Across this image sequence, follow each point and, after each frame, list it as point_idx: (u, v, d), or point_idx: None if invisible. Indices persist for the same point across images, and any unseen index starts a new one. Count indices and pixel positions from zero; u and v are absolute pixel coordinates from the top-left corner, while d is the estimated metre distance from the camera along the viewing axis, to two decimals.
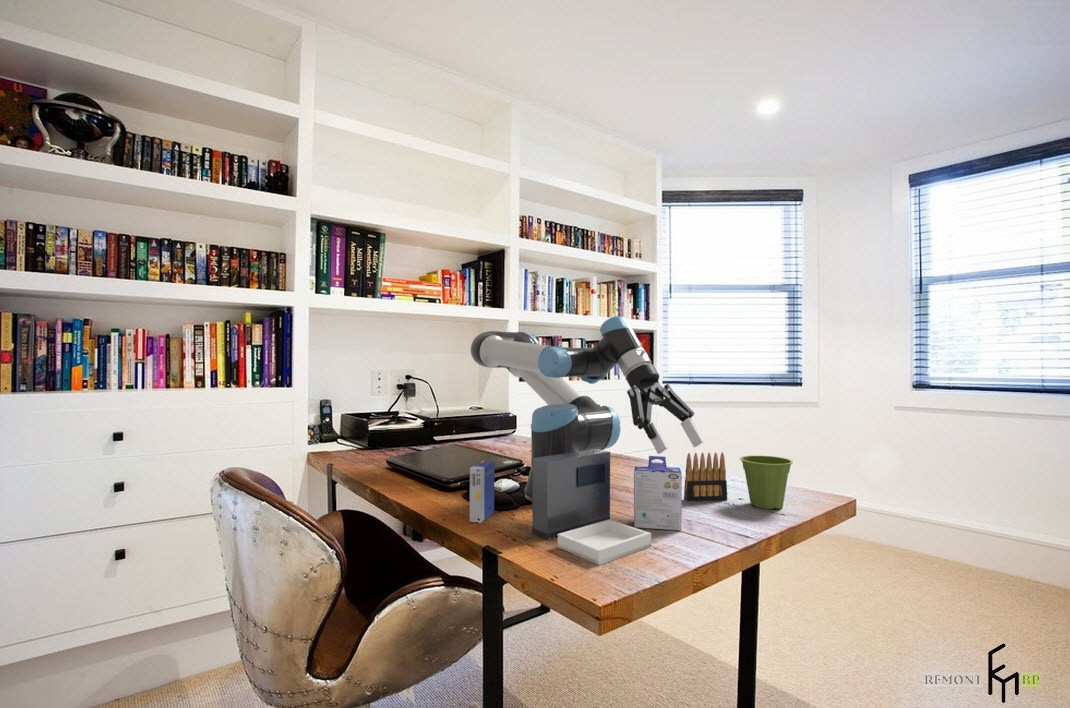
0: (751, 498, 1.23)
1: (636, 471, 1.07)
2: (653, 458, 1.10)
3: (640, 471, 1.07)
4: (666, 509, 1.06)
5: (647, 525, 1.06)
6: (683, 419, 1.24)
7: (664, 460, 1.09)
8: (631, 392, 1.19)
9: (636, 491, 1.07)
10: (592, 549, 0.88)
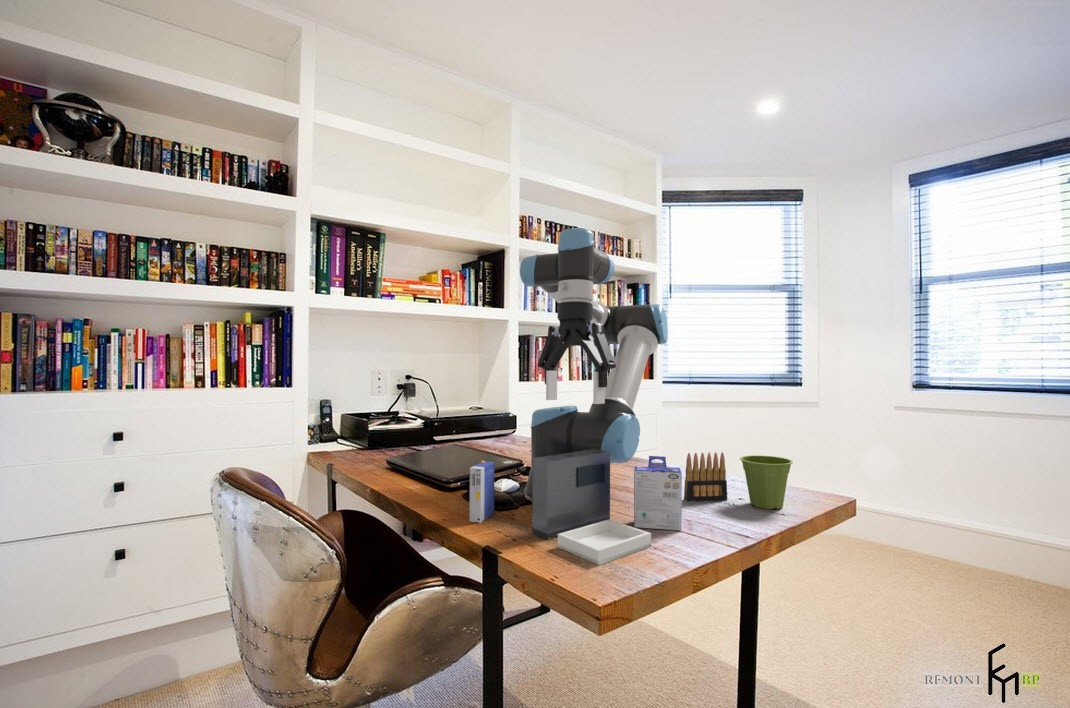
0: (751, 498, 1.23)
1: (636, 471, 1.07)
2: (653, 458, 1.10)
3: (640, 471, 1.07)
4: (666, 509, 1.06)
5: (647, 525, 1.06)
6: None
7: (664, 460, 1.09)
8: None
9: (636, 491, 1.07)
10: (592, 549, 0.88)
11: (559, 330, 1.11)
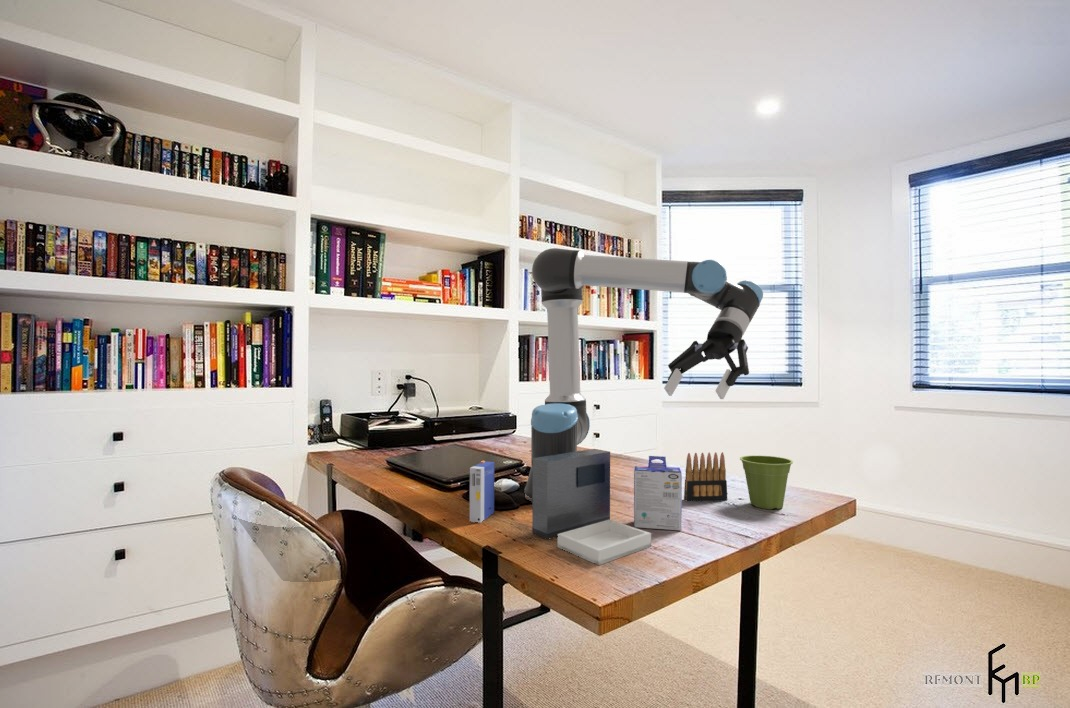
0: (751, 498, 1.23)
1: (636, 471, 1.07)
2: (653, 458, 1.10)
3: (640, 471, 1.07)
4: (666, 509, 1.06)
5: (647, 525, 1.06)
6: None
7: (664, 460, 1.09)
8: (745, 346, 1.18)
9: (636, 491, 1.07)
10: (592, 549, 0.88)
11: None
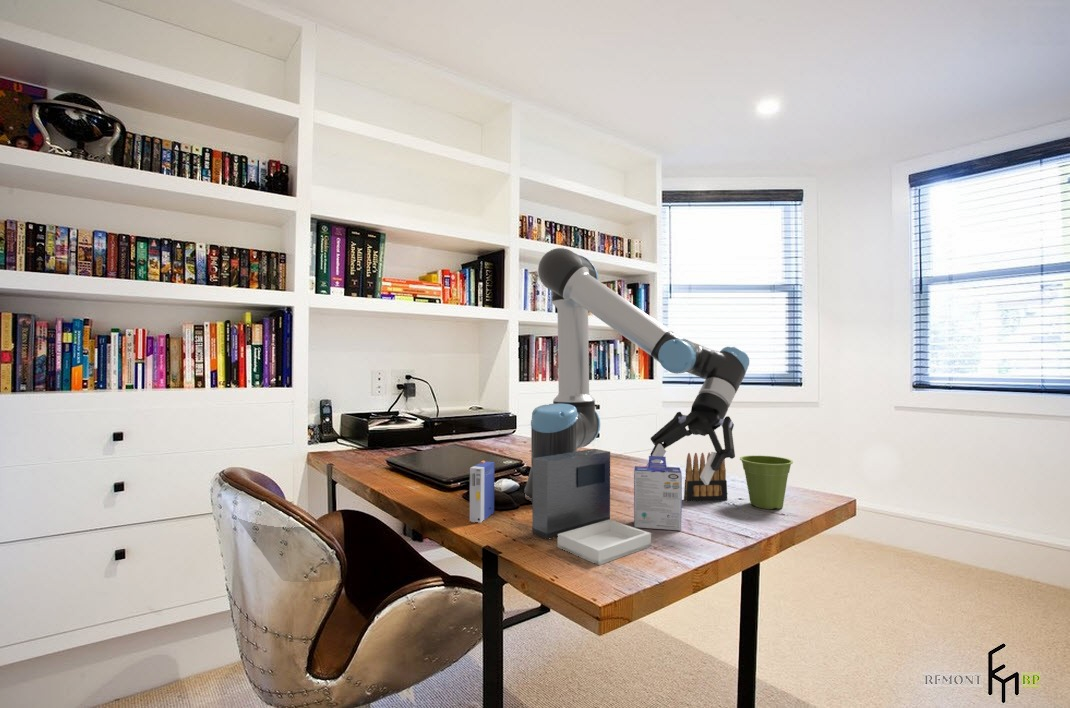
0: (751, 498, 1.23)
1: (636, 471, 1.07)
2: (653, 458, 1.10)
3: (640, 471, 1.07)
4: (666, 509, 1.06)
5: (647, 525, 1.06)
6: (661, 443, 1.19)
7: (664, 460, 1.09)
8: (731, 424, 1.12)
9: (636, 491, 1.07)
10: (592, 549, 0.88)
11: None
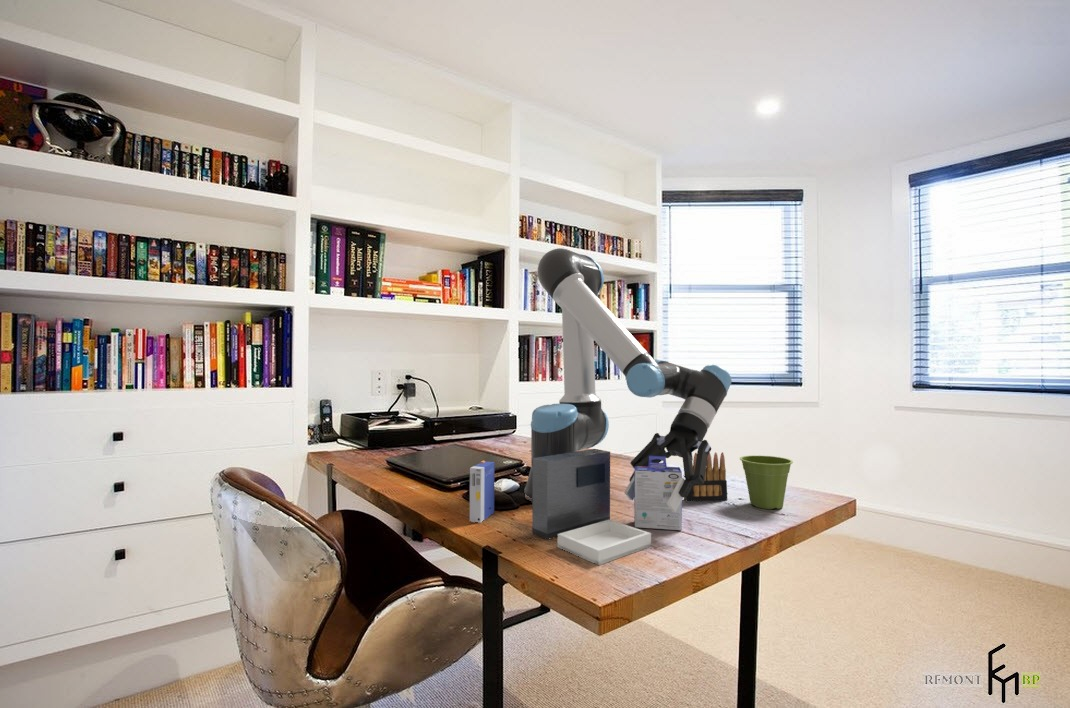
0: (751, 498, 1.23)
1: (636, 471, 1.07)
2: (653, 458, 1.10)
3: (640, 471, 1.07)
4: (667, 508, 1.05)
5: (647, 525, 1.06)
6: None
7: (664, 460, 1.09)
8: (707, 448, 1.08)
9: (636, 491, 1.07)
10: (592, 549, 0.88)
11: None
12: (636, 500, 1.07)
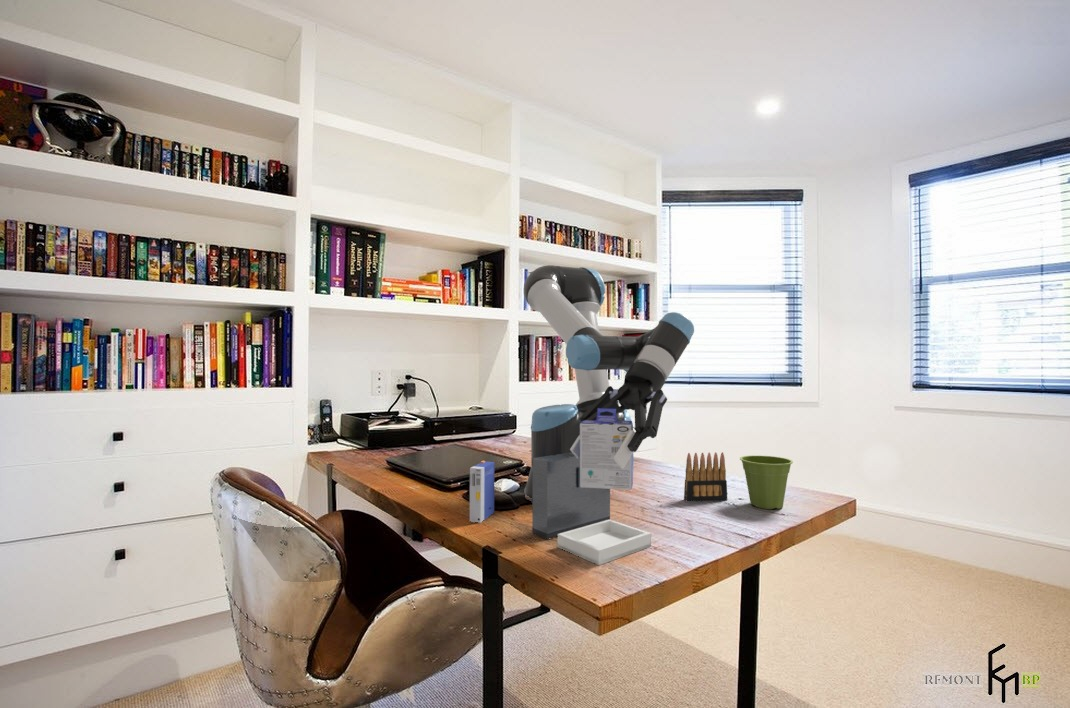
0: (751, 498, 1.23)
1: (582, 424, 0.95)
2: (602, 410, 0.97)
3: (586, 424, 0.94)
4: (615, 465, 0.93)
5: (594, 484, 0.94)
6: None
7: (614, 412, 0.97)
8: (662, 398, 0.96)
9: (582, 446, 0.94)
10: (592, 549, 0.88)
11: None
12: (581, 457, 0.94)
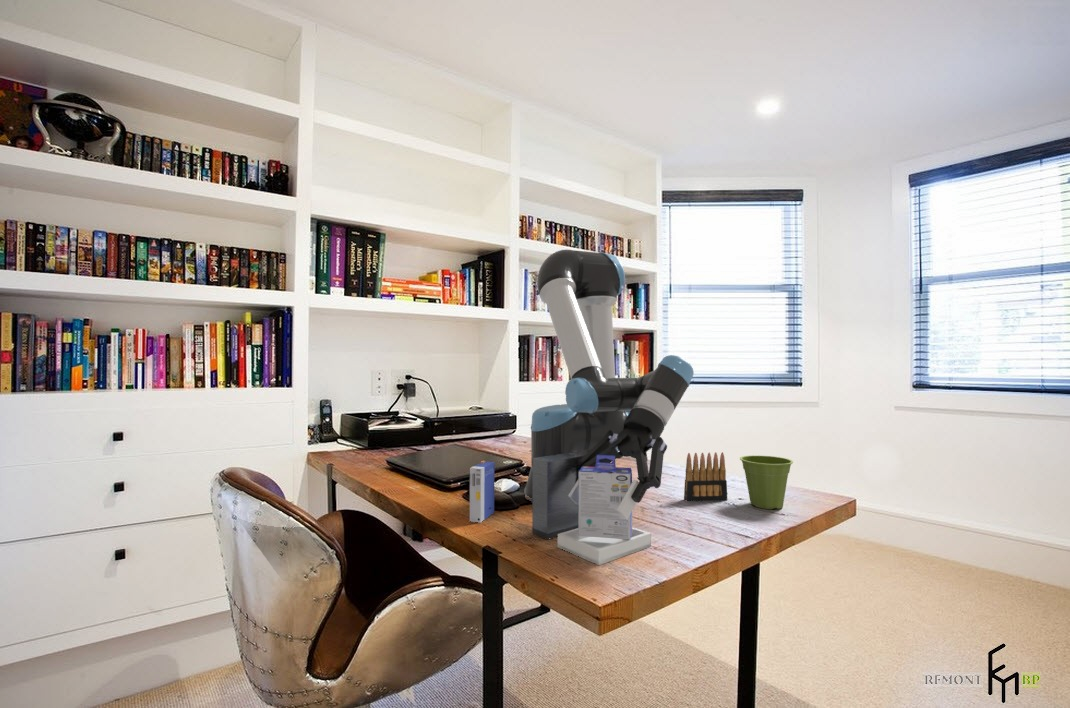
0: (751, 498, 1.23)
1: (580, 472, 0.94)
2: (601, 457, 0.97)
3: (585, 472, 0.94)
4: (614, 515, 0.93)
5: (592, 533, 0.93)
6: None
7: (613, 459, 0.97)
8: (662, 446, 0.96)
9: (581, 495, 0.94)
10: (592, 549, 0.88)
11: None
12: (580, 505, 0.94)
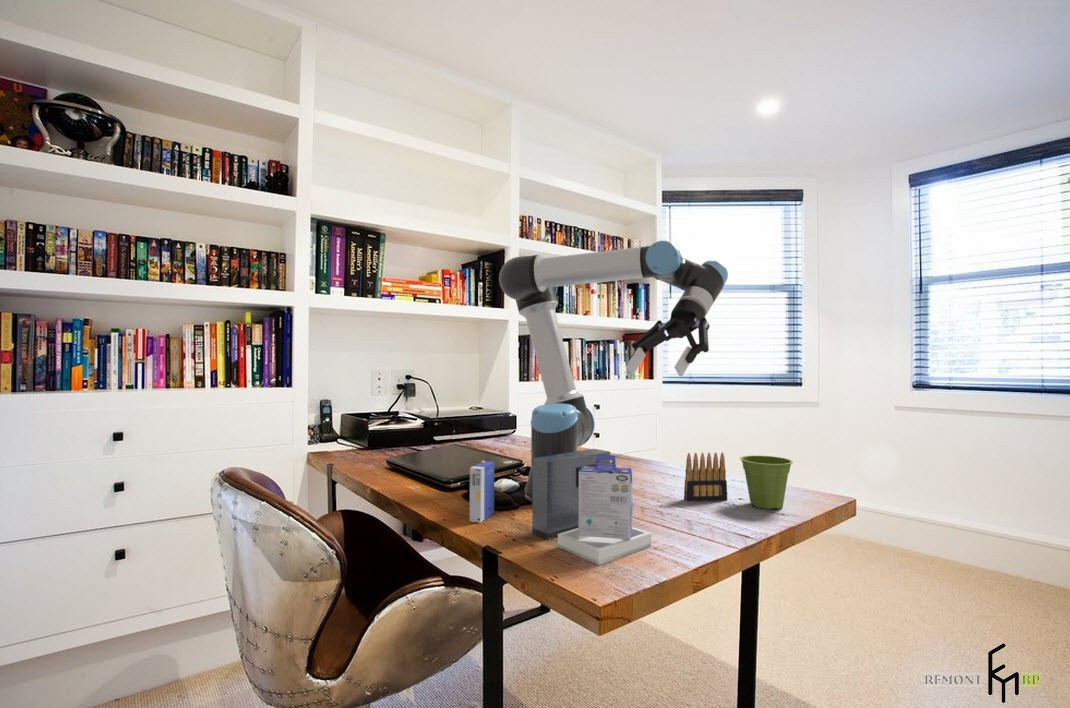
0: (751, 498, 1.23)
1: (581, 472, 0.94)
2: (601, 457, 0.97)
3: (585, 472, 0.94)
4: (614, 515, 0.93)
5: (592, 533, 0.93)
6: (641, 348, 1.24)
7: (613, 459, 0.97)
8: (706, 324, 1.17)
9: (581, 495, 0.94)
10: (592, 549, 0.88)
11: None
12: (580, 505, 0.94)
